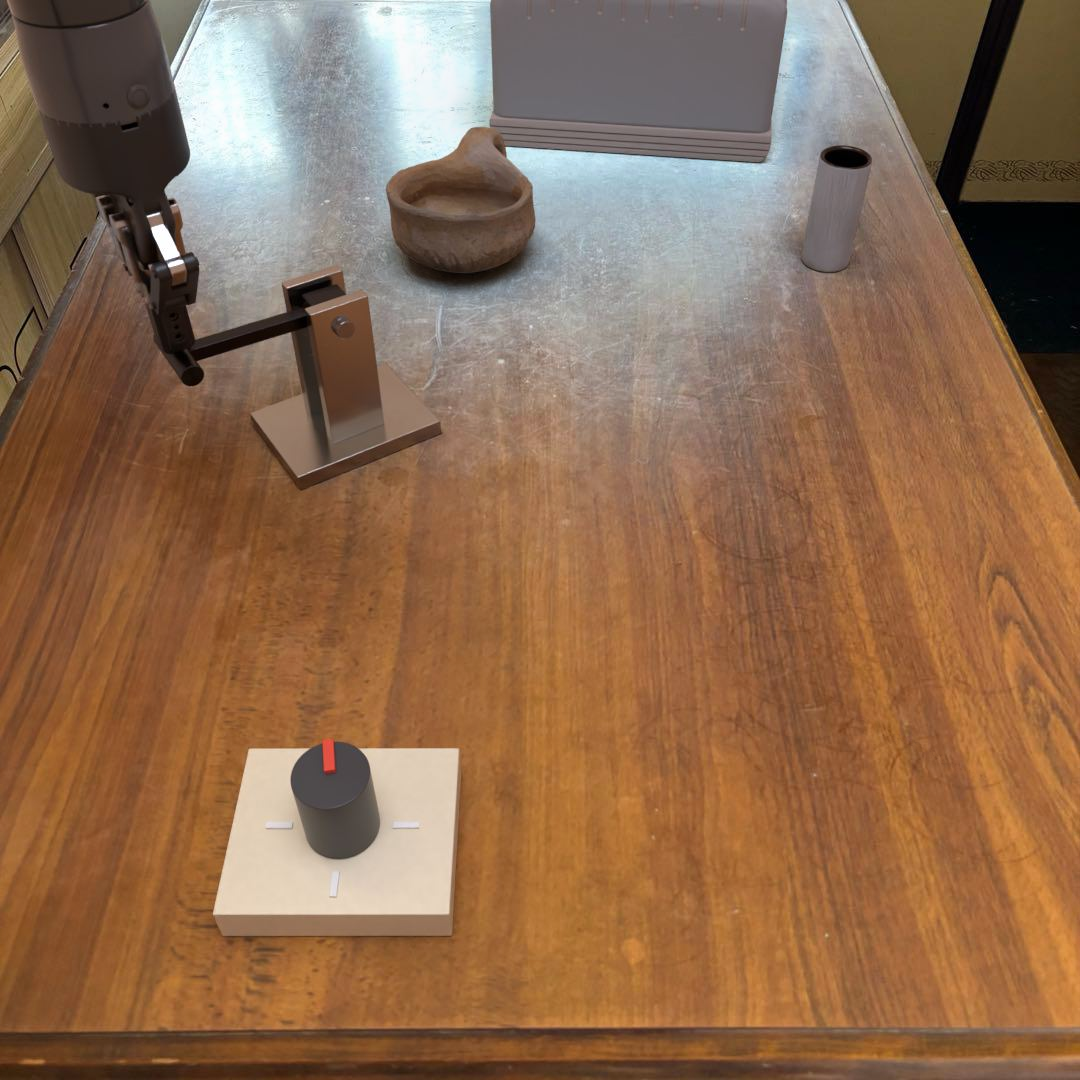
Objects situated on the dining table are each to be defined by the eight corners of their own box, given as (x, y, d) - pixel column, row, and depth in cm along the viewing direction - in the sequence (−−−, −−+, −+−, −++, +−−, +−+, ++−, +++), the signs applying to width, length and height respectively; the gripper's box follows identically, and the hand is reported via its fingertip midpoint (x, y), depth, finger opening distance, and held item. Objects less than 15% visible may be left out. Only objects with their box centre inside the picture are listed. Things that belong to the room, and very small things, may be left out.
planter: (792, 262, 104) (811, 159, 97) (813, 242, 107) (833, 140, 99) (836, 278, 102) (859, 173, 95) (857, 257, 105) (881, 153, 97)
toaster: (768, 35, 143) (790, -122, 130) (768, 163, 118) (795, -15, 105) (537, 23, 146) (537, -131, 133) (489, 145, 121) (483, -30, 108)
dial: (383, 852, 58) (372, 798, 54) (306, 865, 58) (290, 811, 54) (377, 788, 61) (366, 732, 57) (304, 799, 60) (288, 743, 57)
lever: (185, 394, 73) (177, 365, 72) (157, 354, 77) (149, 324, 75) (364, 337, 79) (361, 308, 77) (330, 301, 82) (327, 273, 80)
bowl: (386, 185, 112) (405, 91, 105) (520, 221, 114) (547, 131, 108) (366, 280, 99) (387, 179, 92) (517, 317, 102) (548, 222, 95)
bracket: (300, 490, 82) (270, 347, 73) (252, 425, 87) (219, 284, 78) (441, 433, 86) (429, 292, 77) (388, 375, 92) (371, 236, 83)
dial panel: (222, 936, 57) (211, 913, 56) (256, 772, 65) (248, 746, 63) (452, 936, 58) (449, 912, 56) (461, 772, 65) (459, 746, 63)
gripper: (5, 63, 64) (91, 316, 76) (72, 151, 56) (156, 417, 69) (131, 35, 67) (195, 283, 79) (212, 115, 59) (268, 377, 71)
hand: (177, 345), depth 74 cm, fingers closed
